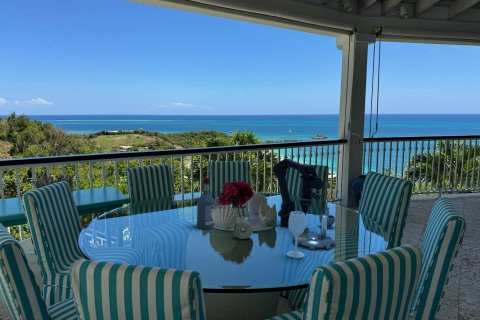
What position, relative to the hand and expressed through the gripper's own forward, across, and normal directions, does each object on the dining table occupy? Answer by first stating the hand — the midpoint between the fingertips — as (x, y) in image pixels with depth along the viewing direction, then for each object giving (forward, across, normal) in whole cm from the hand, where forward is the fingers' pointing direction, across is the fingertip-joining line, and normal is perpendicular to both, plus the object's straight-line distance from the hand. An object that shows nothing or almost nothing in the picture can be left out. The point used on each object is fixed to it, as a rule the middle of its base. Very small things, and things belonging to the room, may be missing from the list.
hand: (305, 213), depth 220 cm
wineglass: (+12, -38, +3) cm, 40 cm away
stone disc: (+12, -21, +32) cm, 40 cm away
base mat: (+12, -18, -5) cm, 22 cm away
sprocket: (+12, -18, -5) cm, 22 cm away
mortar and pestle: (+12, +18, -13) cm, 25 cm away
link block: (+12, 0, 0) cm, 12 cm away
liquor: (+12, -6, +58) cm, 60 cm away
